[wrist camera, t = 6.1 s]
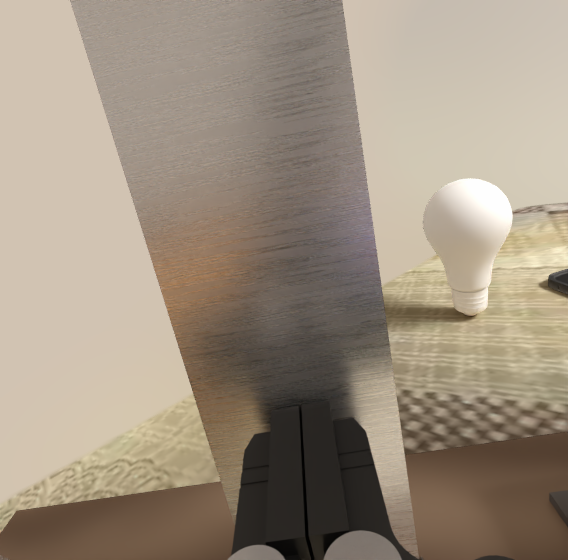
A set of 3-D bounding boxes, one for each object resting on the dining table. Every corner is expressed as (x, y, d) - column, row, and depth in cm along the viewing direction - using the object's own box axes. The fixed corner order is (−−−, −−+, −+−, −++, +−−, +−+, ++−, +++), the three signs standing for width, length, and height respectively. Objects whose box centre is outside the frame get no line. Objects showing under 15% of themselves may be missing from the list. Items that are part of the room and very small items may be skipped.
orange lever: (443, 641, 12) (326, -316, 6) (258, 660, 13) (-31, -206, 6) (417, 551, 15) (316, -173, 9) (265, 570, 15) (66, -103, 9)
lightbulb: (415, 316, 35) (402, 188, 31) (465, 292, 37) (459, 170, 34) (476, 341, 30) (470, 191, 26) (530, 311, 32) (531, 169, 28)
